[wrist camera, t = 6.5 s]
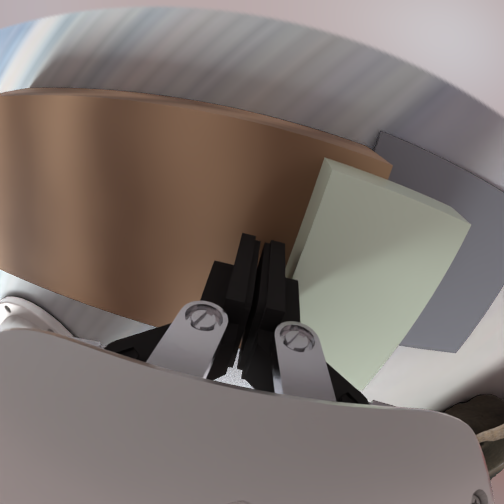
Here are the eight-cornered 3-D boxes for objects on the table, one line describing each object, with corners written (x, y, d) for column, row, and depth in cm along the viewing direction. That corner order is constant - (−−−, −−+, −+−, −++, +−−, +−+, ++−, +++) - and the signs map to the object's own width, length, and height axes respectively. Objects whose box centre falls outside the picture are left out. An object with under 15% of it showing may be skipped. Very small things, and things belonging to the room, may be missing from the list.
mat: (537, 214, 14) (539, 216, 14) (455, 351, 21) (455, 353, 21) (380, 130, 14) (381, 131, 13) (302, 326, 20) (302, 328, 20)
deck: (366, 146, 14) (393, 165, 11) (300, 313, 20) (303, 361, 16) (28, 88, 13) (-17, 97, 10) (31, 239, 19) (-2, 268, 15)
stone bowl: (537, 399, 26) (552, 448, 18) (406, 466, 38) (409, 512, 30) (519, 334, 19) (554, 416, 11) (318, 439, 31) (315, 509, 23)
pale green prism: (451, 206, 11) (471, 224, 10) (357, 365, 16) (362, 390, 14) (324, 157, 11) (332, 169, 9) (255, 346, 16) (252, 372, 14)
